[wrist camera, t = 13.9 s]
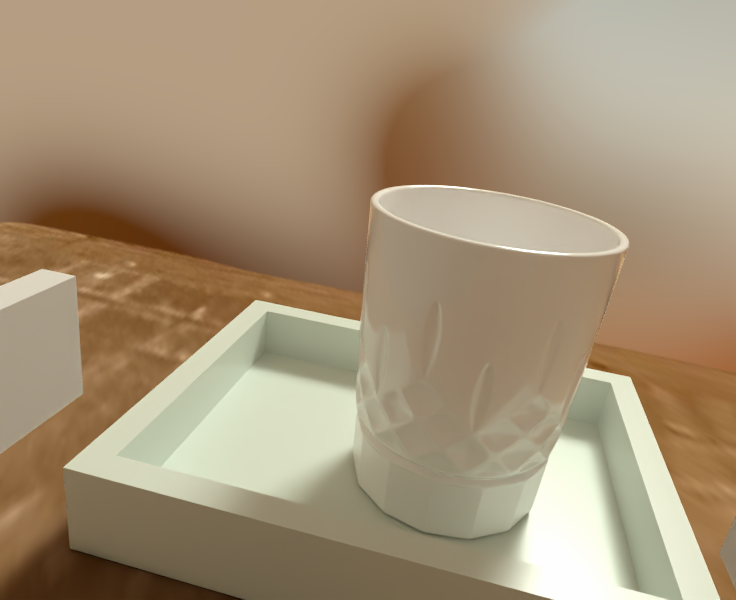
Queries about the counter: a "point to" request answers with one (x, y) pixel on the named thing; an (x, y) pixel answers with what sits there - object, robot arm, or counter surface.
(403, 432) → the white cup
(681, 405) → the counter surface
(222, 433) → the tray
